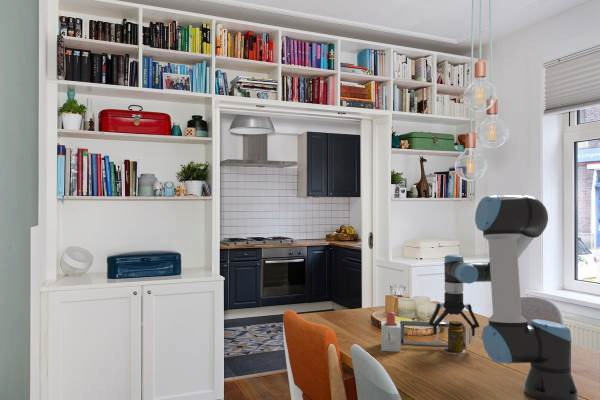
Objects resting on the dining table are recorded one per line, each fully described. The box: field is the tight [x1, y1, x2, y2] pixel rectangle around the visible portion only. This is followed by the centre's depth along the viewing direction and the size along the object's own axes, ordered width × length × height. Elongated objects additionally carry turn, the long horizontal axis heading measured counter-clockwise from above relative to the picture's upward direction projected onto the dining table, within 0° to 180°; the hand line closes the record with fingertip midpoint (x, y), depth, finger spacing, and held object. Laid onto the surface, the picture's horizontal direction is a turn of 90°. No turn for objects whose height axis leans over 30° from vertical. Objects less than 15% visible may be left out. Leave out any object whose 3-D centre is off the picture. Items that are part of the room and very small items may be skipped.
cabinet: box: [380, 320, 402, 353], centre depth 203 cm, size 11×8×10 cm
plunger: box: [385, 311, 396, 326], centre depth 204 cm, size 4×4×9 cm
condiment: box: [440, 320, 468, 355], centre depth 199 cm, size 7×8×12 cm
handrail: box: [399, 320, 467, 349], centre depth 207 cm, size 28×3×10 cm, turn 80°
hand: (453, 343), depth 199 cm, fingers open, 13 cm apart
